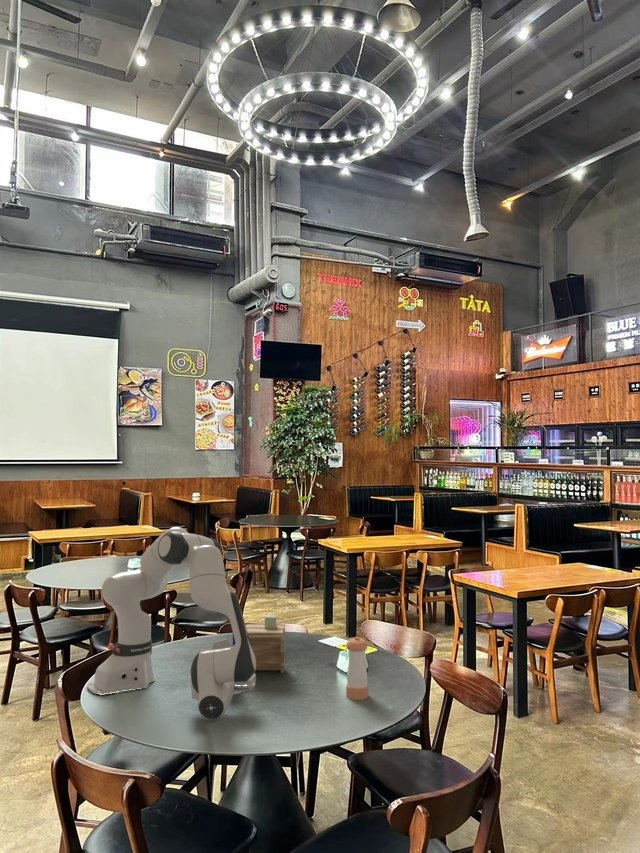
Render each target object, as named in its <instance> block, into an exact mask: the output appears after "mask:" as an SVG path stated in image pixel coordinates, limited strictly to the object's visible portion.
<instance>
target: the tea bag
mask: <svg viewBox="0 0 640 853" xmlns="http://www.w3.org/2000/svg"><path fill="white" fill-rule="evenodd" d="M228 647H231V645H230V641H229V638H225V639H221V640H217V641H214V642H213V646H212V648H211V650H213V649H221V648H228Z"/></svg>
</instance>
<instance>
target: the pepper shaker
mask: <svg viewBox="0 0 640 853" xmlns="http://www.w3.org/2000/svg"><path fill="white" fill-rule="evenodd" d="M368 646H369V645H368V643H367V641H366V640H365V639H363V638H360V637H359V636H355V637H353V638H351V639H348V640H347V643H346V649H347V650H348V667H347V672H346V677H347V678H346V680H347V683H346V685H345V689H346V690H345V694H346V695H345V696H346V698H348V699H350V700H353V701H354V700H355V701H361V700H366V699H368V698H369V685H368V672H367V671H368V670H367V665H366V650H367V649H368Z"/></svg>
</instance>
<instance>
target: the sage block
mask: <svg viewBox="0 0 640 853" xmlns="http://www.w3.org/2000/svg"><path fill="white" fill-rule="evenodd" d="M264 624H265V629H276V624H277V614H265V616H264Z"/></svg>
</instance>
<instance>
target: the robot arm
mask: <svg viewBox="0 0 640 853" xmlns="http://www.w3.org/2000/svg"><path fill="white" fill-rule="evenodd" d="M139 564H140V567H139V568H136V569H133V570H129V571H128V570H127V571H121V572H117V573H115V574H113V575H111V576H109V577H107V578H105V580H104V581H103V583H102V585H101V595H102V598H103V599H104V601H105V602H106V603H107V604H108V605H109V606H111V607H112V609H113V610H114V612H115V615H116V619H117V627H118V628H117V629H118V632H117V633H118V638H117V640H118V641H116V643H115V644H114V643H112V642H110V643H108V645H107V648H108V649H109V650H110V651H112V654H111V655H110V656H109V657H108V658H107V659H105V661H103V662H101V664H100V665H99V666H97V668H96V670H95V673H94V679H93V680H92V681H89V682H88V684H87V687H88V688H87V690H88V689H89V690H90V691H92V692H95V693H102V694H104V693H110V692H116V691H122V690H129V689H137V688H145V687H147V686H148V684H149V683H151V682H153V681H154V682H155V680H156V679H155V678H156V677H155V675H154V670H153V665H152V654H153V640H152V639H153V638H152V637H151V636H152V633H151V632H152V618H151V616H150V615H149V613H146V612H144V611H143V610H142V607H141V601H145V600H148V599H153V598H155V597H157V596H159V595H161V594H163V593H164V592H165V591H166V589H167V587H168V577H167V576H168V575H169V573H171V571H172V570H173V569H175V567H176V566H178V567H183V568H187V569H188V568H189V592H190V596H191V599H192V601H193V603H194V604H196V605H197V606H199V607H200V608H203V609H205V610H208V611H211V612H216V613H220V614H223V615H224V616H227V618H228V619H229V621H230V626H231V629H232V635H233V634H234V639H235V645H234V646H233V645H232V646H230V647H228V648H221V649H213V648H212V649H213V650H212V649H207V650H202V651H199V652H198V653H196V655H195V657H194V658H193V660H192V662H191V667H190V692H191V693H190V694H191V698H192V699H193V700H196V701H197V708H198V712H199V714H200V715H201V716H202V717H203V718H205V719H207V720H216V719H219V718H221V717H222V716H224V714H225V713H226V712H227V710H228V708H229V706H230V704H231V701H232V698H233V694H234V691H245V692H250V691H251V690H253V689H254V688H255V687H256V685H257V684H256V683H257V674H256V671H257V670H256V659H255V655H254V653H253V650H252V648H251V645H250V641H249V637H248V633H247V629H246V625H245V624H246V623H245V618H244V614H243V610H242V607H241V603H240V600H239V598H238V595H237V594H236V593H235V592H233V591H231V590H230V589H229V587H228V584H227V582H226V581H227V580H226V570H225V564H224V559H223V547H222V545H221V543H220V542H219V541H218V540H217V539H215V538H212V537H206V536H204V535H200V534H196V533H190V532H188V531H187V530H186V529H184V528H183V527H179V526H172V527H170V528H169V529H167V530H165V532H162V534H161V535H160V536H158V537H157V538H156V539H155V541H153V543H151V545H150V546H149V547H148V548H147V549H146V550H145V552H143V553H142V555H141V556H140V562H139ZM154 682H153V683H154ZM151 684H152V683H151ZM149 685H150V684H149ZM148 687H149V686H148ZM148 687H147V688H148ZM145 689H146V688H145ZM89 690H88V691H89ZM90 691H89V692H90ZM98 691H100V692H98ZM92 692H91V693H92ZM234 695H235V694H234Z"/></svg>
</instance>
